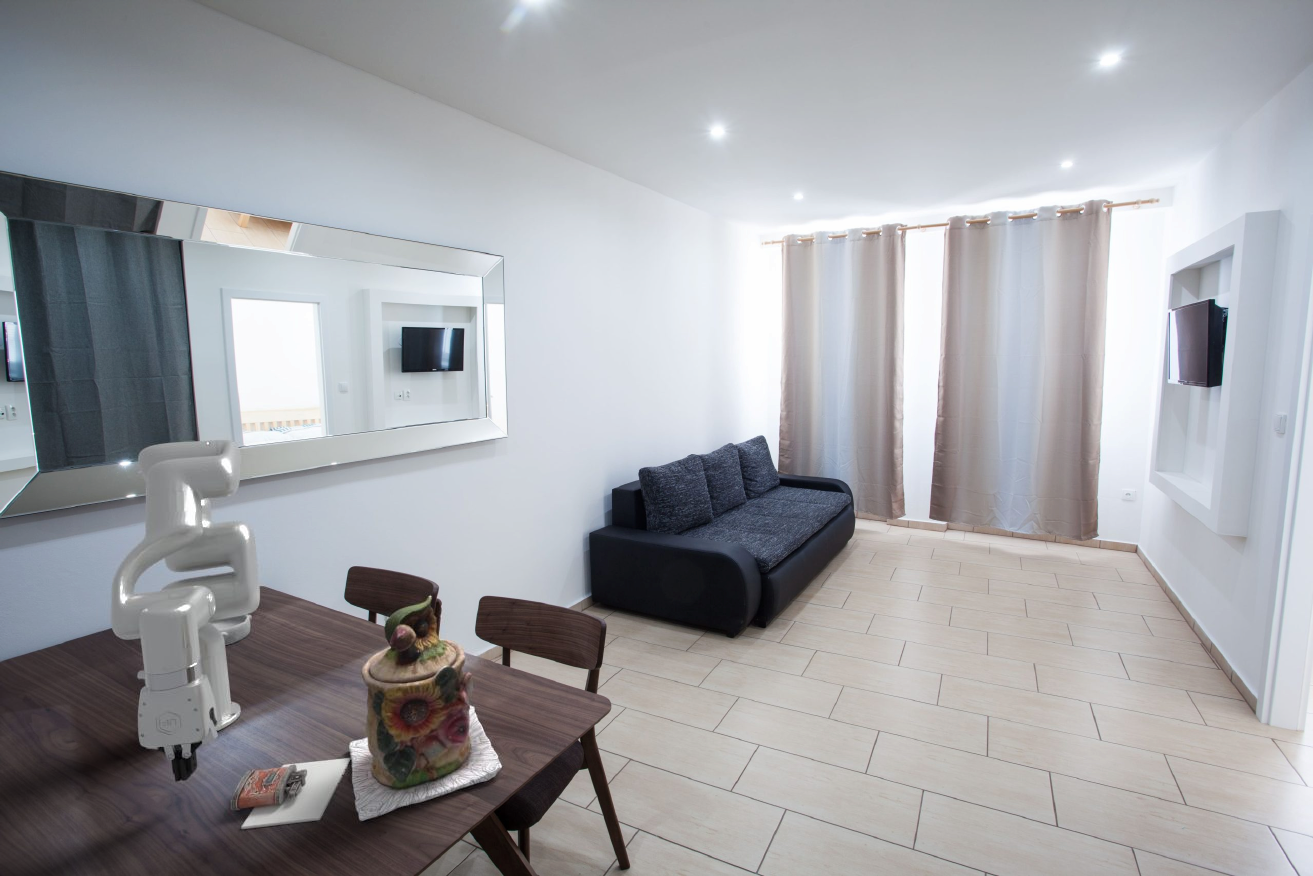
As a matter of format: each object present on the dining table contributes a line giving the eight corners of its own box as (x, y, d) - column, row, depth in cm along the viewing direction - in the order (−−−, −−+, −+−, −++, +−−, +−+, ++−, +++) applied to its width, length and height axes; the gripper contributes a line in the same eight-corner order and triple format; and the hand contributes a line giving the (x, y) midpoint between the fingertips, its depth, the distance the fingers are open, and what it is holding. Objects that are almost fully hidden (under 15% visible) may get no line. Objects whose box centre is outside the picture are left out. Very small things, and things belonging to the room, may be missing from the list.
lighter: (250, 765, 112) (310, 757, 114) (252, 782, 113) (312, 774, 115) (229, 798, 104) (295, 789, 106) (232, 816, 105) (297, 807, 107)
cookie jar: (347, 749, 123) (334, 593, 119) (473, 713, 135) (465, 570, 131) (357, 829, 102) (343, 643, 98) (506, 778, 114) (498, 610, 110)
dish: (230, 650, 167) (228, 632, 166) (179, 650, 167) (177, 632, 167) (264, 627, 181) (263, 610, 181) (217, 627, 182) (215, 610, 181)
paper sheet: (241, 829, 102) (241, 827, 102) (283, 767, 118) (283, 765, 118) (319, 820, 104) (319, 817, 104) (350, 759, 120) (350, 757, 120)
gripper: (109, 690, 100) (122, 796, 102) (211, 681, 103) (222, 785, 105) (139, 668, 108) (151, 767, 110) (234, 660, 110) (243, 757, 112)
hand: (185, 775), depth 107 cm, fingers closed
